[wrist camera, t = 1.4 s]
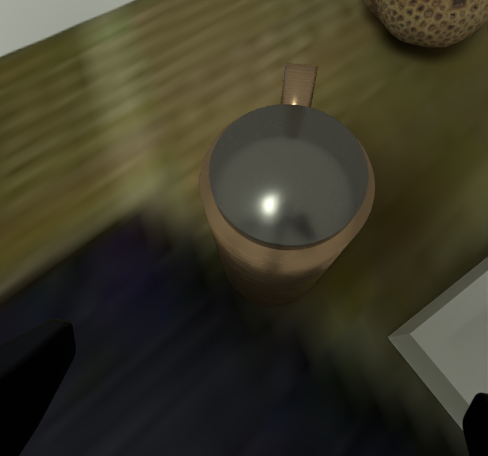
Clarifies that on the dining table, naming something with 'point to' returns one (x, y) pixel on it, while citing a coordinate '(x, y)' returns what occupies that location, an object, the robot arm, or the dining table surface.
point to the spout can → (284, 193)
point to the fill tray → (451, 342)
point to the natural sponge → (430, 19)
